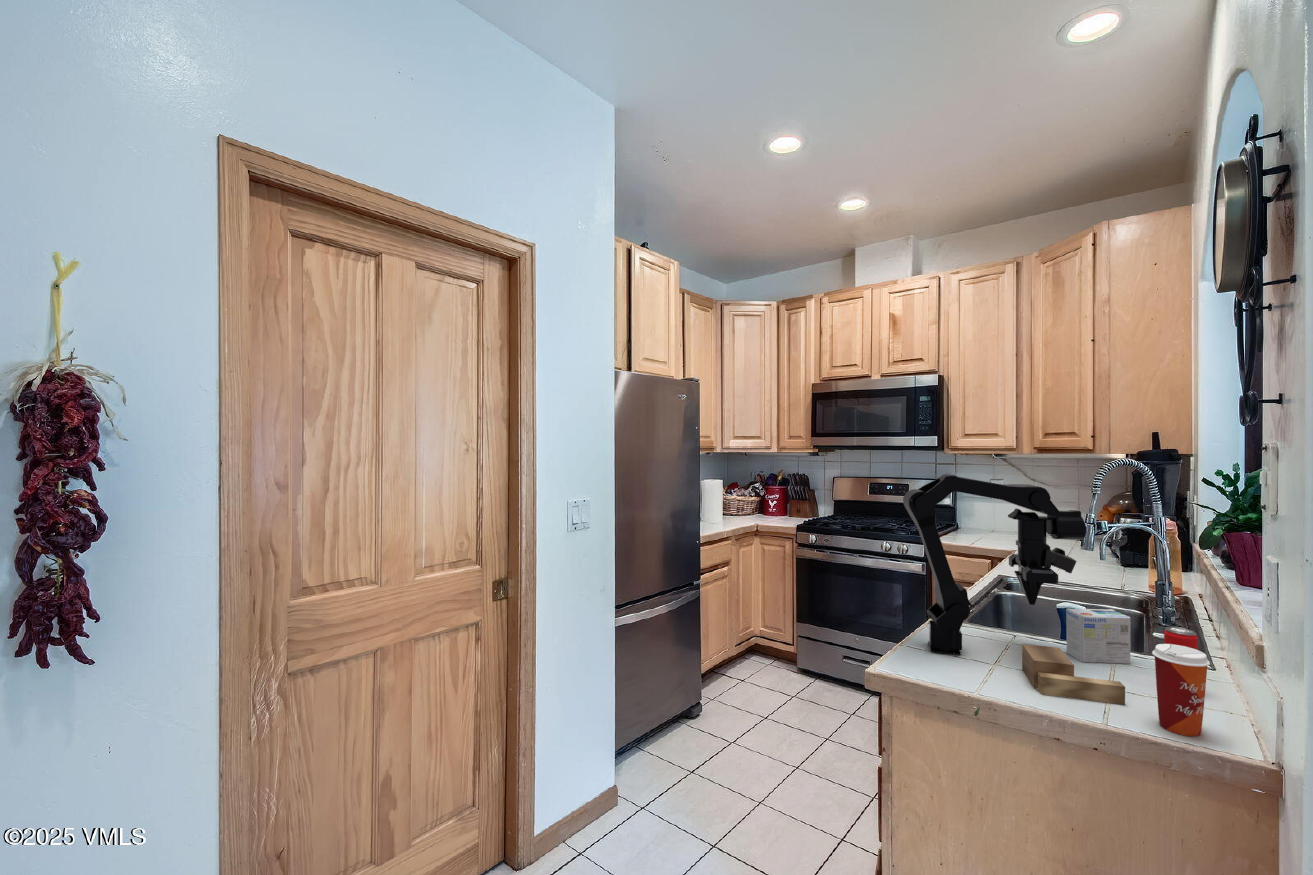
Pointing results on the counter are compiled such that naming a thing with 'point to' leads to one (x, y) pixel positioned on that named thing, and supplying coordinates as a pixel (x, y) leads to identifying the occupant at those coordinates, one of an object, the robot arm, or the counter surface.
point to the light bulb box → (1098, 635)
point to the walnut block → (1044, 662)
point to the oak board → (1081, 688)
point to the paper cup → (1180, 688)
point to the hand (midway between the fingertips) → (1031, 604)
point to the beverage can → (1181, 637)
